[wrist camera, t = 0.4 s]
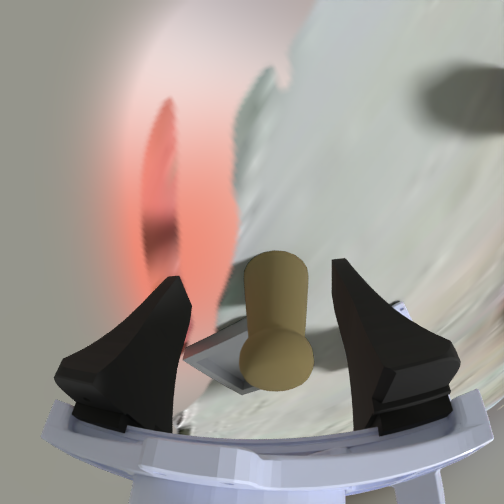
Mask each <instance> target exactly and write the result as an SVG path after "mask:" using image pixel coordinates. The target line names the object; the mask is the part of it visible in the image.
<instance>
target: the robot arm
mask: <svg viewBox="0 0 504 504" xmlns="http://www.w3.org/2000/svg"><path fill="white" fill-rule="evenodd" d="M332 298H333V304H334V310H335V315H336V318H337V322H338V325H339V329H340V333H341V336H342V340H343V344H344V347H345V351H346V356H347V361H348V369H349V376H350V385H351V395H352V407H353V425H354V428H353V431H352V432H346V433H339V434H331V435H323V436H314V437H303V438H287V439H224V438H209V437H197V436H188V435H180V434H172V415H173V397H174V388H175V380H176V373H177V367H178V363H179V359H180V355H181V352H182V348H183V345H184V341H185V338H186V334H187V331H188V327H189V323H190V317H191V309H192V305H191V302H190V300H189V298H188V296H187V293H186V291H185V288H184V286H183V284H182V281H181V279H180V276H170V277H167V278H166V279H165V280H164V281H163V282H162V283H161V284H160V285H159V286H158V287H157V288H156V289H155V290H154V291H153V292H152V293H151V294H150V295H149V296H148V298H147V299H146V300H145V301H144V302H143V303H142V304H141V305H140V306H139V307H138V308H137V309H136V310H135V311H134V312H132V314H130V315H129V317H127V318H126V319H125V320H124V321H123V322H121V323H120V324H119V325H118V326H117V327H115V328H114V329H113V330H112V331H110V332H109V333H107V334H106V335H104V336H103V337H102V338H100V339H99V340H97V341H96V342H94V343H93V344H91V345H89V346H87V347H86V348H84V349H82V350H80V351H78V352H76V353H74V354H72V355H70V356H68V357H66V358H63V360H62V362H61V364H60V366H59V368H58V370H57V372H56V374H55V376H54V380H55V382H56V384H57V385H58V386H59V387H60V388H61V389H62V390H63V391H64V392H65V393H66V394H67V395H68V396H70V397H71V398H72V399H73V400H74V401H75V402H76V404H75V406H72V405H70V404H68V403H65V402H62V401H59V400H55V401H54V404H53V406H52V409H51V411H50V414H49V416H48V418H47V421H46V424H45V426H44V429H43V431H42V434H41V438H42V439H43V440H45V441H46V442H48V443H50V444H51V445H53V446H55V447H57V448H58V449H60V450H61V451H63V452H65V453H67V454H68V455H70V456H72V457H74V458H76V459H79V460H81V461H83V462H85V463H88V464H90V465H93V466H95V467H97V468H100V469H102V470H105V471H107V472H110V473H113V474H115V475H118V476H121V477H124V478H127V479H130V480H133V485H132V489H131V494H130V499H129V504H345V496H347V495H352V494H357V493H362V492H367V491H371V490H375V489H380V488H383V487H387V486H391V487H393V488H394V489H395V494H396V499H397V504H445V497H444V491H443V485H442V480H441V474H440V470H441V468H443V467H445V466H448V465H450V464H452V463H455V462H457V461H459V460H462V459H464V458H466V457H467V456H469V455H470V454H472V453H474V452H476V451H477V450H479V449H480V448H482V447H484V446H485V445H487V444H488V443H490V442H491V441H492V440H493V439H494V436H493V433H492V429H491V425H490V422H489V418H488V415H487V412H486V409H485V406H484V403H483V400H482V397H481V394H480V391H479V389H475V390H473V391H470V392H468V393H465V394H463V395H460V396H458V397H456V398H454V399H452V400H451V399H450V396H449V394H450V393H451V390H450V387H449V383H450V381H451V380H452V379H453V377H454V376H455V374H456V373H457V371H458V369H459V367H460V363H461V361H460V359H459V357H458V354H457V352H456V350H455V348H454V346H453V344H452V342H451V341H450V340H447V339H445V338H443V337H441V336H439V335H436V334H434V333H432V332H430V331H428V330H427V329H425V328H423V327H421V326H419V325H418V324H416V323H414V322H413V321H412V319H411V317H410V315H409V313H408V311H407V309H406V307H405V305H404V303H403V302H402V301H401V302H398V303H396V304H394V305H392V306H391V305H389V304H388V303H387V302H386V301H385V300H384V299H383V298H381V297H380V296H379V295H378V294H377V293H376V292H375V291H374V290H373V289H372V288H371V287H370V286H369V285H368V284H367V283H366V282H365V280H364V279H363V278H362V277H361V276H360V275H359V274H358V273H357V271H356V270H355V269H354V268H353V267H352V266H351V264H350V263H349V262H348V261H347V260H346V259H345V258H342V259H334V260H332Z"/></svg>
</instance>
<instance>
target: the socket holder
mask: <svg viewBox="0 0 504 504" xmlns="http://www.w3.org/2000/svg"><path fill="white" fill-rule="evenodd" d="M247 339H248V328H247V317H246V318H244V319H243V320H241V321H239V322H237V323H235V324H233V325H231V326H229V327H227V328H225V329H223V330H221V331H219V332H217V333H215V334H213V335H211V336H209V337H207V338H205V339H203V340H201V341H198V342H196V343H194V344H192V345H190V346H188V347H186V349H185V353H184V356H183V361H185V362H186V363H188V364H190V365H191V366H193V367H194V368H196V369H198V370H199V371H201V372H202V373H204V374H206V375H207V376H209V377H211V378H212V379H214V380H216V381H218V382H219V383H221V384H223V385H224V386H226V387H228V388H230V389H232V390H233V391H235V392H237V393H239V394H241V395H244V394H247V393H250V392H254V391H257V390H260V389H259V388H256V387H254V386H252V385H250V384H249V383H248V382H246V380H245V379H244V377H243V375H242V373H241V372H240V368H239V356H240V351H241V348H242V346H243V344H244V343H245V341H246V340H247Z"/></svg>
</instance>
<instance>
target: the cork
mask: <svg viewBox="0 0 504 504" xmlns="http://www.w3.org/2000/svg"><path fill="white" fill-rule="evenodd" d="M244 288H245V302H246V315H247V328H248V339H247V340H246V341H245V343H244V344H243V346H242V348H241V351H240V356H239V368H240V372H241V373H242V375H243V377H244V379H245V380H246V382H248V383H249V384H250V385H252V386H254V387H256V388H259V389H262V390H266V391H285V390H289V389H293V388H295V387H297V386H299V385H302V384H303V383H304V382H305V381H306V380H307V379H308V378H309V376H310V374H311V372H312V370H313V366H314V357H313V351H312V348H311V345H310V343H309V342H308V341H307V339H306V338H305V327H306V312H307V294H308V271H307V267H306V266H305V264H304V263H303V261H302V260H301V259H299V258H298V257H297V256H296V255H293V254H291V253H288V252H285V251H269V252H264V253H262V254H260V255H258V256H256V257H254V258H253V259H252V260H251V261H250V262H249V263H248V264H247V266H246V268H245V270H244Z"/></svg>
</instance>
